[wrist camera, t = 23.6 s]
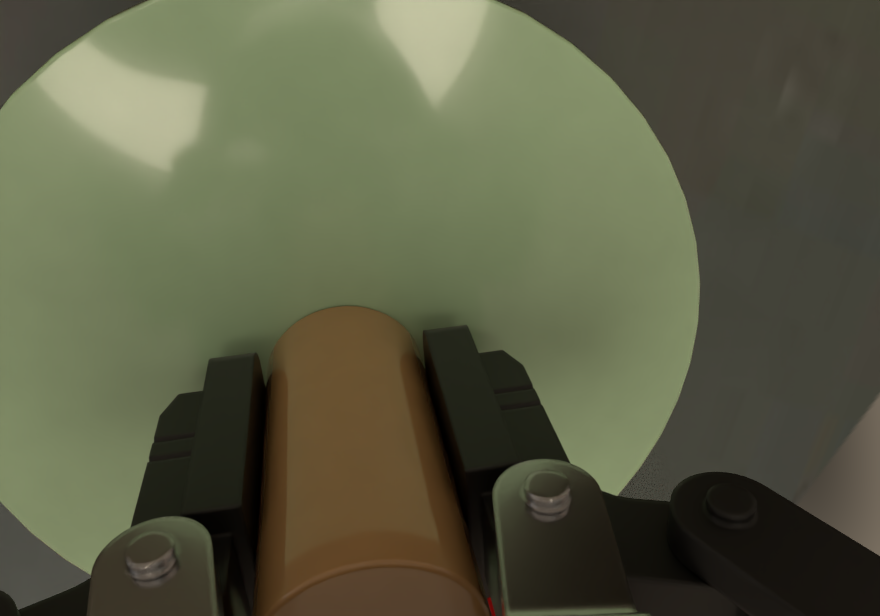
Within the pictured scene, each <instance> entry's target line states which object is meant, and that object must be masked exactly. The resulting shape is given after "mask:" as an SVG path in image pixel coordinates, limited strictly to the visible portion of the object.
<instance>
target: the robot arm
mask: <svg viewBox="0 0 880 616" xmlns="http://www.w3.org/2000/svg"><path fill="white" fill-rule="evenodd" d="M423 351H424V363H425V371H426V375H427V379H428V382H429V386H430V390H431V393H432V397H433V401H434V404H435V408H436V412H437V416H438V419H439V423H440V427H441V430H442V434H443V438H444V441H445V445H446V449H447V452H448V456H449V460H450V463H451V467H452V471H453V474H454V478H455V482H456V485H457V489H458V493H459V497H460V500H461V504H462V508H463V511H464V515H465V519H466V522H467V526H468V530H469V533H470V537H471V541H472V544H473V548H474V552H475V555H476V559H477V563H478V566H479V570H480V574H481V577H482V581H483V585H484V589H485V592H486V596H487V598H490V597H491V601H492V604H493V608H494V611H495V615H496V616H880V556H878V555H877V554H875V553H874V552H872V551H870V550H869V549H867V548H866V547H864V546H862V545H861V544H859V543H857V542H856V541H854V540H852V539H851V538H849V537H847V536H846V535H844V534H843V533H841V532H839V531H838V530H836V529H835V528H833V527H831V526H830V525H828V524H826V523H825V522H823V521H821V520H820V519H818V518H816V517H815V516H813V515H811V514H810V513H808V512H807V511H805V510H803V509H802V508H800V507H799V506H797V505H795V504H794V503H792V502H790V501H789V500H787V499H786V498H784V497H782V496H781V495H779V494H777V493H776V492H774V491H772V490H771V489H769V488H768V487H766V486H764V485H762V484H761V483H759V482H757V481H755V480H752V479H750V478H747V477H744V476H740V475H737V474H732V473H725V472H706V473H700V474H696V475H693V476H690V477H688V478H686V479H684V480H683V481H682V482H680V483H679V484H678V485H677V486H676V488H675V489H674V490H673V493H672V495H671V500H670V502H667V501H655V500H643V499H633V498H625V497H620V496H616V495H612V494H610V493H607V492H604V491H602V490H601V489H600V486H599V484H598V483H597V482H596V480H595V479H594V478H593V477H592V476H591V475H590V474H589V473H588V472H586V471H585V470H583V469H582V468H580V467H578V466H576V465H574V464H571V463H570V461H569V459H568V457H567V455H566V453H565V451H564V449H563V447H562V445H561V442H560V440H559V438H558V436H557V434H556V432H555V430H554V428H553V426H552V424H551V422H550V420H549V418H548V415H547V413H546V411H545V409H544V407H543V405H541V402H540V399H539V397H538V395H537V393H536V391H535V388H534V389H533V384H532V382H531V380H530V378H529V376H528V374H527V372H526V370H525V368H524V366H523V365H522V364H521V363H520V362H518V361H517V360H516V359H514V358H513V357H512V356H510V355H509V354H508V353H506V352H505V351H504V350H497V351H490V352H483V353H478V350H477V348H476V345H475V343H474V340H473V337H472V335H471V332H470V330H469V328H468V326H467V325H460V326H452V327H445V328H437V329H430V330H423ZM265 394H266V388H265V383H264V378H263V373H262V368H261V363H260V359H259V356H258V354H257V353H256V352H254V353H247V354H239V355H232V356H224V357H217V358H210V359H209V361H208V366H207V371H206V377H205V382H204V387H203V391H197V392H189V393H182V394H178V395H177V396H176V398H175V399H174V400H173V401H172V402H171V403H170V404H169V406H168V407H167V408H166V409H165V410H164V411H163V412H162V414H161V415H160V416H159V420H158V424H157V428H156V431H155V435H154V443H152V447H151V450H150V454H149V462H147V466H146V470H145V473H144V477H143V481H142V485H141V489H140V492H139V496H138V500H137V504H136V508H135V512H134V515H133V519H132V523H131V527H130V528H129V529H127V530H125V531H124V532H122V533H121V534H119V535H118V536H116V537H115V538H114V539H113V540H112V541H110V542H109V543H108V544H107V545H106V546H105V548H104V549H103V550H102V551H101V552H100V554H99V555H98V557H97V558H96V560H95V563H94V565H93V568H92V572H91V578H90V579H88V580H86V581H85V582H83V583H81V584H79V585H78V586H76V587H73V588H71V589H69V590H67V591H64V592H62V593H60V594H57V595H55V596H52V597H50V598H47V599H45V600H42V601H40V602H37V603H35V604H32V605H30V606H27V607H25V608H22V609H20V610H18V609H17V607H16V604H15V602H14V601H13V599H12V598H11V597H10V596H9V595H8V594H6V593H5V592H3V591H0V616H252V609H253V593H254V576H255V560H256V543H257V526H258V510H259V493H260V477H261V460H262V444H263V427H264V411H265Z"/></svg>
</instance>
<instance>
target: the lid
mask: <svg viewBox="0 0 880 616" xmlns="http://www.w3.org/2000/svg"><path fill="white" fill-rule="evenodd" d="M699 293H700V277H699V267H698V256H697V246H696V238H695V234H694V230H693V226H692V222H691V218H690V214H689V210H688V206H687V202H686V198H685V195H684V193H683V191H682V188H681V186H680V183H679V181H678V179H677V176H676V174H675V171H674V169H673V167H672V164H671V162H670V159H669V157H668V155H667V153H666V152H665V150H664V149H663V147H662V145H661V144H660V142H659V140H658V139H657V137H656V135H655V134H654V132H653V130H652V129H651V127H650V126H649V124H648V122H647V121H646V119H645V117H644V116H643V115H642V113H641V112H640V111H639V110H638V109H637V107H636V106H635V105H634V104H633V103H632V102H631V100H630V99H629V98H628V97H627V96H626V94H625V93H624V92H623V91H622V90H621V88H620V87H619V86H618V85H617V84H616V83H615V81H614V80H613V79H612V78H611V77H610V76H609V75H608V74H607V73H605V72H604V71H603V70H602V69H601V68H600V67H599V66H597V65H596V64H595V63H594V62H593V61H592V60H591V59H589V58H588V57H587V56H586V55H585V54H584V53H583V52H581V51H580V50H579V49H578V48H577V47H576V46H575V45H573V44H572V43H571V42H569V41H568V40H566V39H565V38H563V37H561V36H560V35H558V34H557V33H555V32H554V31H552V30H551V29H549V28H547V27H546V26H544V25H543V24H541V23H540V22H538V21H536V20H535V19H533V18H532V17H530V16H529V15H527V14H526V13H524V12H522V11H520V10H518V9H515V8H513V7H511V6H509V5H507V4H504V3H502V2H500V1H498V0H145V1H143V2H141V3H138V4H136V5H134V6H132V7H130V8H128V9H126V10H123V11H121V12H119V13H117V14H115V15H113V16H111V17H110V18H108V19H107V20H105V21H104V22H102V23H101V24H99V25H98V26H96V27H95V28H93V29H92V30H90V31H89V32H87V33H86V34H84V35H83V36H81V37H80V38H78V39H77V40H75V41H74V42H72V43H71V44H69V45H68V46H66V47H65V48H63V49H62V50H60V51H59V52H57V53H56V54H55V55H54V56H52V57H51V58H50V59H49V60H48V61H47V62H46V63H45V64H44V65H43V66H42V67H41V68H39V69H38V70H37V71H36V72H35V73H34V74H33V75H32V76H31V77H30V78H29V79H28V80H27V81H25V82H24V83H23V84H22V85H21V86H20V87H19V88H18V89H17V90H16V91H15V92H14V93H12V94H11V96H10V97H9V98H8V100H7V101H6V102H5V103H4V105H3V106H2V107H1V108H0V502H1V503H2V504H3V505H4V506H5V507H6V508H7V509H8V510H9V511H10V512H11V513H12V514H13V515H14V516H15V517H16V518H17V519H18V520H19V521H20V522H21V523H22V524H23V525H24V526H25V527H26V528H27V529H28V530H29V531H30V532H31V533H32V534H34V535H35V536H36V537H37V538H39V539H40V540H41V541H42V542H44V543H45V544H46V545H48V546H49V547H50V548H51V549H53V550H54V551H55V552H56V553H58V554H59V555H60V556H62V557H63V558H64V559H66V560H67V561H69V562H71V563H72V564H74V565H75V566H77V567H79V568H80V569H82V570H84V571H85V572H87V573H88V574H90V575H91V572H92V568H93V565H94V563H95V560H96V558H97V557H98V555H99V554H100V552H101V551H102V550H103V549H104V548H105V546H106V545H107V544H108V543H109V542H110V541H112V540H113V539H114V538H115V537H116V536H118V535H119V534H121V533H122V532H124V531H125V530H127V529H129V528H130V527H131V523H132V519H133V515H134V512H135V508H136V504H137V500H138V496H139V492H140V489H141V485H142V481H143V477H144V473H145V470H146V466H147V462H149V454H150V450H151V447H152V443H154V435H155V431H156V428H157V424H158V420H159V416H160V415H161V414H162V412H163V411H164V410H165V409H166V408H167V407H168V406H169V404H170V403H171V402H172V401H173V400H174V399H175V398H176V396H177V395H178V394H182V393H189V392H197V391H203V387H204V382H205V377H206V371H207V366H208V361H209V359H210V358H217V357H224V356H232V355H239V354H247V353H254V352H256V353H257V354H258V356H259V359H260V363H261V368H262V373H263V378H264V383H265V388H266V394H265V411H264V427H263V444H262V460H261V477H260V493H259V510H258V526H257V543H256V560H255V576H254V593H253V609H252V616H492V614H491V611H490V607H489V603H488V600H487V596H486V592H485V589H484V585H483V581H482V577H481V574H480V570H479V566H478V563H477V559H476V555H475V552H474V548H473V544H472V541H471V537H470V533H469V530H468V526H467V522H466V519H465V515H464V511H463V508H462V504H461V500H460V497H459V493H458V489H457V485H456V482H455V478H454V474H453V471H452V467H451V463H450V460H449V456H448V452H447V449H446V445H445V441H444V438H443V434H442V430H441V427H440V423H439V419H438V416H437V412H436V408H435V404H434V401H433V397H432V393H431V390H430V386H429V382H428V379H427V375H426V371H425V363H424V351H423V330H430V329H437V328H445V327H452V326H460V325H467V326H468V328H469V330H470V332H471V335H472V337H473V340H474V343H475V345H476V348H477V350H478V353H483V352H490V351H497V350H504V351H505V352H506V353H508V354H509V355H510V356H512V357H513V358H514V359H516V360H517V361H518V362H520V363H521V364H522V365H523V366H524V368H525V370H526V372H527V374H528V376H529V378H530V380H531V382H532V384H533V389H534V388H535V391H536V393H537V395H538V397H539V399H540V402H541V405H543V407H544V409H545V411H546V413H547V415H548V418H549V420H550V422H551V424H552V426H553V428H554V430H555V432H556V434H557V436H558V438H559V440H560V442H561V445H562V447H563V449H564V451H565V453H566V455H567V457H568V459H569V461H570V463H571V464H574V465H576V466H578V467H580V468H582V469H583V470H585V471H586V472H588V473H589V474H590V475H591V476H592V477H593V478H594V479H595V480H596V482H597V483H598V484H599V486H600V489H601V490H602V491H604V492H607V493H610V494H612V495H616V496H618V494H619V493H620V492H621V491H622V490H623V488H624V487H625V486H626V485H627V483H628V482H629V481H630V480H631V478H632V477H633V476H634V475H635V473H636V472H637V471H638V470H639V468H640V467H641V466H642V464H643V463H644V461H645V459H646V458H647V456H648V455H649V453H650V452H651V450H652V448H653V447H654V445H655V444H656V442H657V441H658V439H659V437H660V436H661V434H662V432H663V430H664V428H665V426H666V424H667V422H668V420H669V417H670V415H671V413H672V411H673V409H674V407H675V405H676V403H677V401H678V398H679V395H680V392H681V389H682V386H683V383H684V380H685V377H686V374H687V371H688V368H689V365H690V362H691V357H692V352H693V347H694V341H695V336H696V331H697V326H698V313H699Z"/></svg>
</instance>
